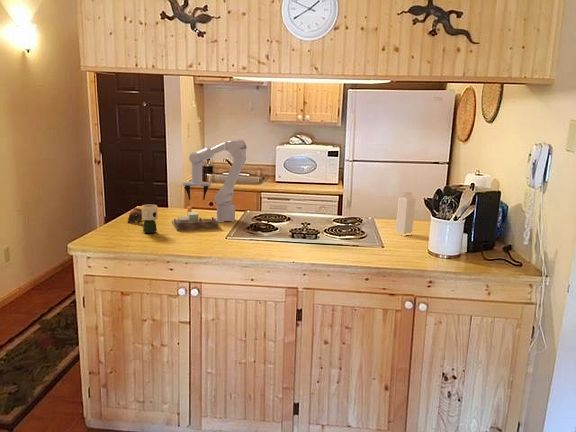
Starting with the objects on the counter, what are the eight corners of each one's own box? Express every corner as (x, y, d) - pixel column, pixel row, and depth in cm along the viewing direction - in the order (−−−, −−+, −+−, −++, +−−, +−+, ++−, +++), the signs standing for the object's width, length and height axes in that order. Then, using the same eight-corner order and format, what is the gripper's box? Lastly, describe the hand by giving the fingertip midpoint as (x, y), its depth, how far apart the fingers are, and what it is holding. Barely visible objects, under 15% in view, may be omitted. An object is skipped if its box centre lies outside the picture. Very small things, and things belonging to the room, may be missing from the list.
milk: (395, 234, 256) (398, 191, 252) (403, 232, 260) (407, 190, 255) (404, 236, 252) (407, 193, 247) (412, 235, 255) (416, 192, 250)
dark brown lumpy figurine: (123, 222, 258) (129, 207, 260) (140, 228, 263) (146, 214, 265) (131, 221, 248) (136, 205, 250) (148, 228, 253) (154, 212, 255)
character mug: (154, 235, 234) (153, 208, 231) (139, 235, 234) (138, 208, 231) (160, 230, 244) (159, 203, 241) (145, 229, 244) (145, 203, 241)
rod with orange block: (193, 215, 270) (193, 206, 269) (198, 222, 258) (198, 212, 256) (184, 216, 269) (184, 206, 267) (189, 222, 256) (189, 212, 255)
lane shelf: (210, 220, 267) (210, 213, 266) (218, 229, 251) (218, 221, 250) (171, 222, 260) (171, 214, 259) (177, 231, 243) (177, 223, 243)
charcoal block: (186, 224, 253) (186, 216, 252) (189, 227, 247) (189, 219, 246) (177, 225, 251) (177, 217, 250) (179, 227, 246) (179, 220, 245)
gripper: (182, 175, 265) (182, 200, 268) (210, 176, 267) (209, 201, 270) (183, 173, 272) (183, 198, 275) (210, 174, 274) (210, 198, 277)
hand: (196, 199), depth 273 cm, fingers open, 7 cm apart
